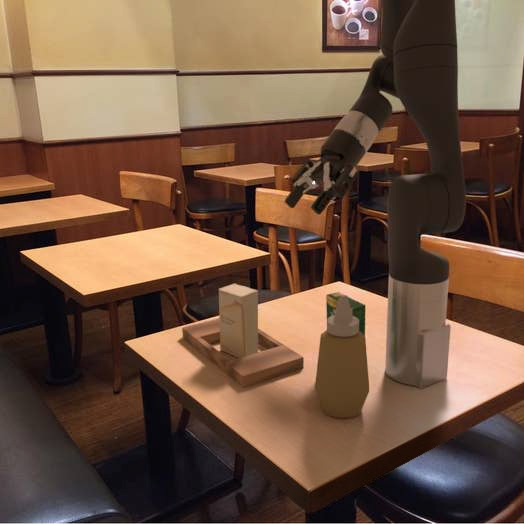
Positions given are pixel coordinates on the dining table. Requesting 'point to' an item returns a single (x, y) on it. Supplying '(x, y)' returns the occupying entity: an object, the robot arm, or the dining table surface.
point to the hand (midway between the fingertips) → (301, 208)
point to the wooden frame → (250, 366)
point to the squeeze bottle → (342, 364)
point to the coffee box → (355, 308)
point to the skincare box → (238, 320)
